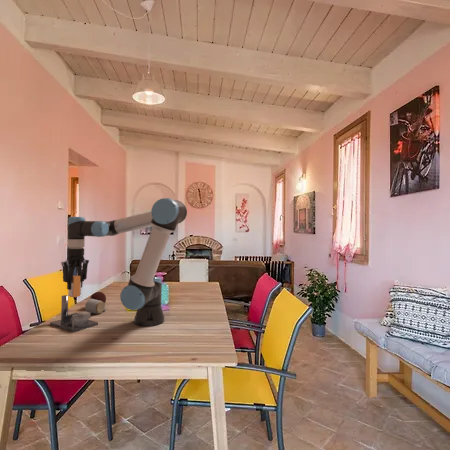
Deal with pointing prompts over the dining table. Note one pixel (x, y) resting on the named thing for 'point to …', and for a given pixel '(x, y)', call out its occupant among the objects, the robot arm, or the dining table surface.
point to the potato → (99, 296)
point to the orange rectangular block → (76, 286)
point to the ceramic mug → (95, 306)
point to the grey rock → (80, 318)
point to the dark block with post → (70, 319)
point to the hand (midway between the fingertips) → (74, 295)
